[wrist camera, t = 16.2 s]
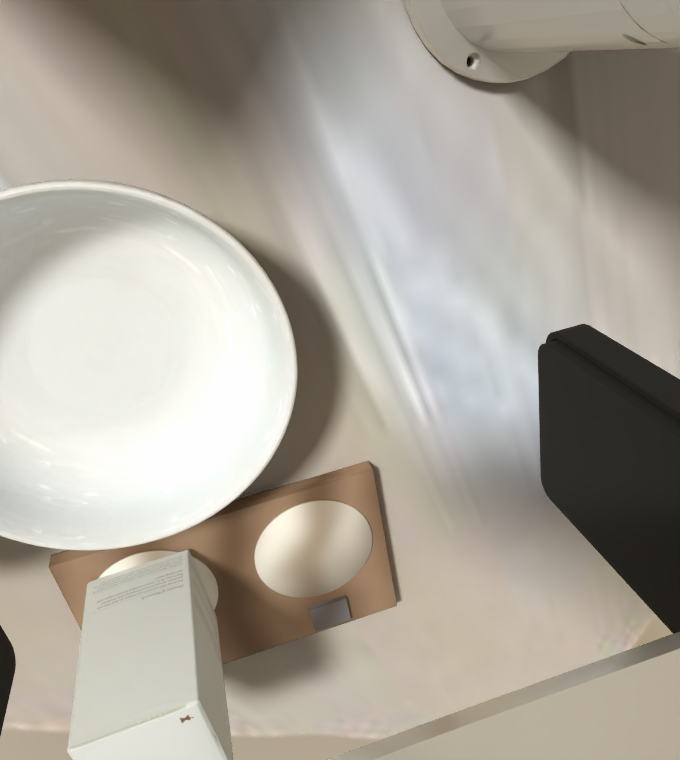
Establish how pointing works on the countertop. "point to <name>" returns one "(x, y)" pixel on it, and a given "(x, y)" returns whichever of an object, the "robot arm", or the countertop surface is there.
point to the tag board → (270, 561)
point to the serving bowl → (131, 366)
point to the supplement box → (150, 668)
